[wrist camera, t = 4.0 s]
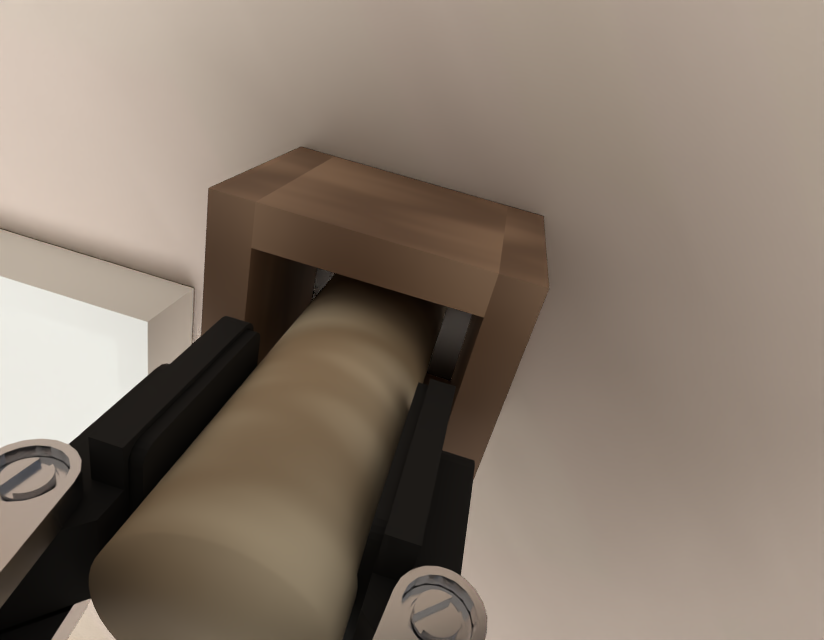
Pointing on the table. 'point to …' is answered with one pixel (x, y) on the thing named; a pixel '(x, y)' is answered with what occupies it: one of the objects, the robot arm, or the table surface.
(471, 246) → the square wooden box
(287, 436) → the dowel
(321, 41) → the table surface
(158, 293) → the tray
